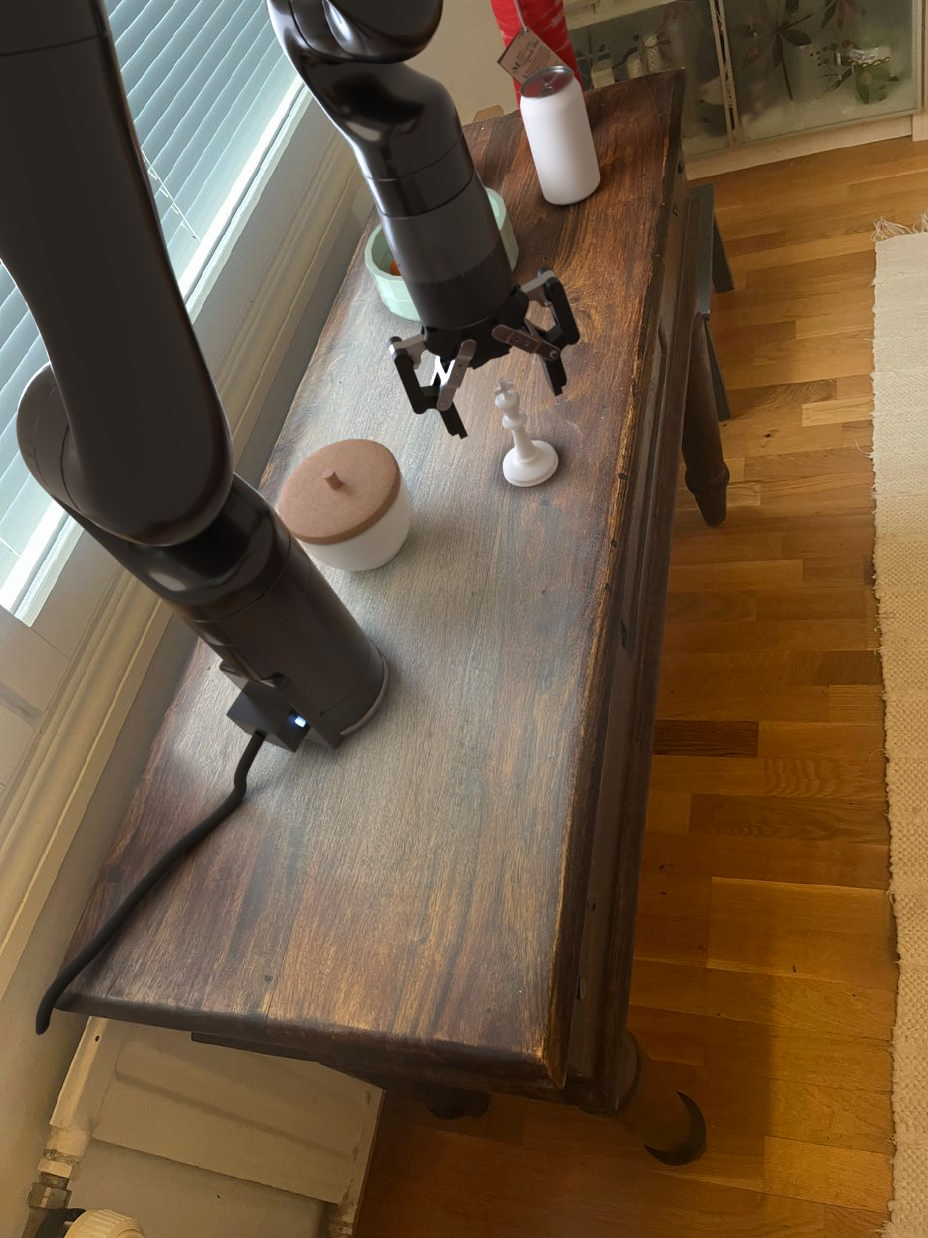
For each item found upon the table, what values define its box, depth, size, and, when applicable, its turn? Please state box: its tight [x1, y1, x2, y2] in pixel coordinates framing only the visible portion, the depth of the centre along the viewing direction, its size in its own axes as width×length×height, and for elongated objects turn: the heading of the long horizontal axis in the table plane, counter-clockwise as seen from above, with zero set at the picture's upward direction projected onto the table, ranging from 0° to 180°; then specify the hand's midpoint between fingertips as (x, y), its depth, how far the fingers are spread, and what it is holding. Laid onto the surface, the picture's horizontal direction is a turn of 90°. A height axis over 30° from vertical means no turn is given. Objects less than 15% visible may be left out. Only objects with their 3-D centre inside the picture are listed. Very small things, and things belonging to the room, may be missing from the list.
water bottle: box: [489, 0, 588, 129], centre depth 100 cm, size 12×8×25 cm, turn 166°
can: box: [520, 66, 601, 207], centre depth 98 cm, size 6×6×12 cm
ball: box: [390, 260, 401, 276], centre depth 101 cm, size 3×3×3 cm
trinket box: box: [277, 438, 413, 572], centre depth 79 cm, size 11×11×9 cm
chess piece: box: [492, 377, 559, 488], centre depth 78 cm, size 5×5×10 cm
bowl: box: [364, 186, 520, 323], centre depth 99 cm, size 16×16×6 cm
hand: (508, 410), depth 77 cm, fingers open, 8 cm apart
